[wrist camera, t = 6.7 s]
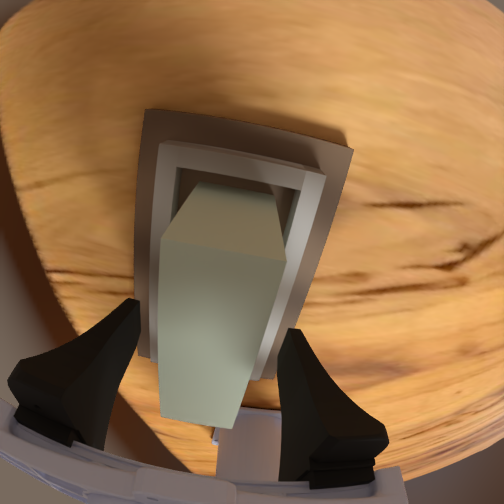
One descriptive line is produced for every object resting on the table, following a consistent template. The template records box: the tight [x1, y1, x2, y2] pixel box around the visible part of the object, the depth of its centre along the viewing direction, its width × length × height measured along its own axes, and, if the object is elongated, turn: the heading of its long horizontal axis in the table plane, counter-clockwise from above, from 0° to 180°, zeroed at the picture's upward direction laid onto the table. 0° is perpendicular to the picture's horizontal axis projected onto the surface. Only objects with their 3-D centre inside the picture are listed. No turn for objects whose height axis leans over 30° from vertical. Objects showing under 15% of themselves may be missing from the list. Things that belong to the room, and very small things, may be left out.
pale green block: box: [158, 181, 287, 429], centre depth 15 cm, size 11×4×7 cm, turn 168°
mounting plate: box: [134, 109, 354, 381], centre depth 18 cm, size 18×11×2 cm, turn 168°
